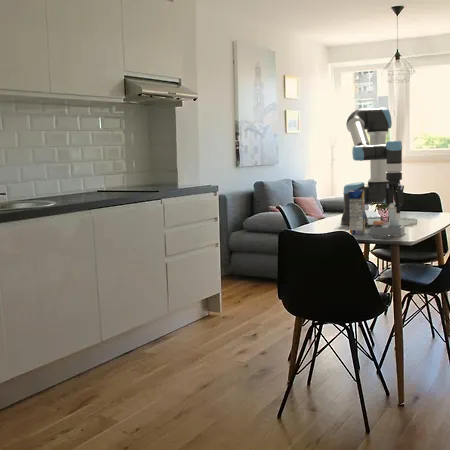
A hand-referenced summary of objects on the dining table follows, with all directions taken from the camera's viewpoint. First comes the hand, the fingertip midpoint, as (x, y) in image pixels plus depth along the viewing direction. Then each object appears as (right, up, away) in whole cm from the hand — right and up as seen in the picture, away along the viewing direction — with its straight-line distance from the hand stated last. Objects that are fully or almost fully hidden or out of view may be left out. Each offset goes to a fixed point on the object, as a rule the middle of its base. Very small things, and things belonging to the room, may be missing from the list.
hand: (394, 218), depth 297 cm
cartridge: (0, -6, +1) cm, 6 cm away
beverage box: (-16, -7, +11) cm, 21 cm away
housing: (-3, -8, +2) cm, 9 cm away
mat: (-7, -9, -7) cm, 14 cm away
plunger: (-7, -7, +4) cm, 11 cm away
